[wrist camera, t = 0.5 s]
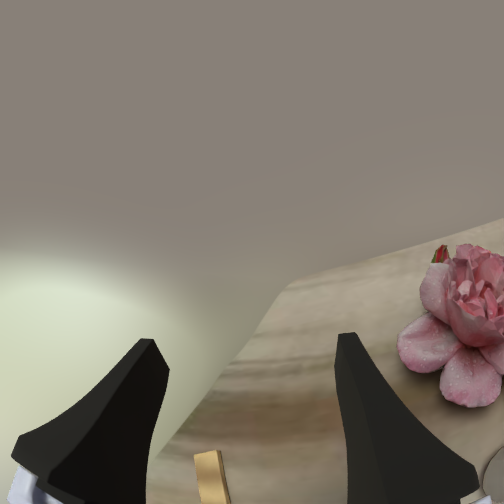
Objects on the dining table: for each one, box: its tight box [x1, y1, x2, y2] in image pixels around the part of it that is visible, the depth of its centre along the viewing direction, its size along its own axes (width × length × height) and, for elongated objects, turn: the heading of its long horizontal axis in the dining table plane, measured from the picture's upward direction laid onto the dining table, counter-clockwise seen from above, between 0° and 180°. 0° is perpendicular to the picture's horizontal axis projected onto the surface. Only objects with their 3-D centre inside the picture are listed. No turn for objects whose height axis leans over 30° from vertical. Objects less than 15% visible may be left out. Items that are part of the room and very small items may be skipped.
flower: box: [396, 244, 504, 407], centre depth 17 cm, size 15×15×10 cm
